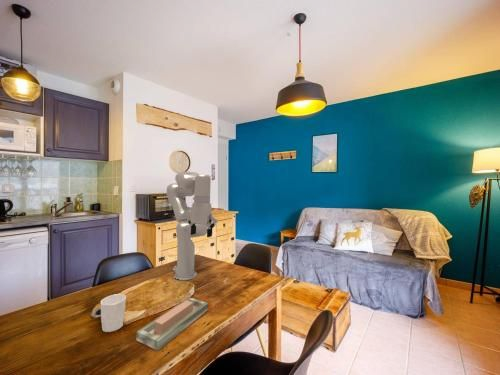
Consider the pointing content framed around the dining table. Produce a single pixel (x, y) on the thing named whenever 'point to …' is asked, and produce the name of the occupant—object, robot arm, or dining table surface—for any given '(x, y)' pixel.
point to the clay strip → (172, 317)
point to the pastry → (96, 311)
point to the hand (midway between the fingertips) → (201, 235)
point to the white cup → (112, 312)
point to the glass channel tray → (158, 341)
